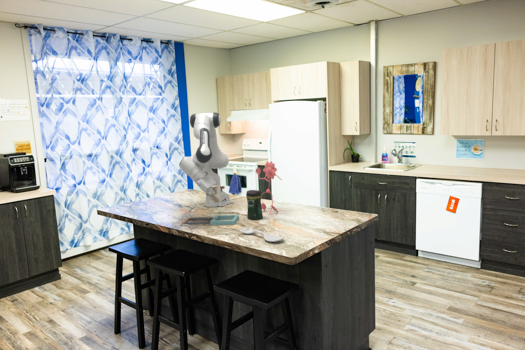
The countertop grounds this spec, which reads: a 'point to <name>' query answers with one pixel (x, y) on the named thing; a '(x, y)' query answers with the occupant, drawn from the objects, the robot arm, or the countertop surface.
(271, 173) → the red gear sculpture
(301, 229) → the countertop surface
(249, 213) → the coffee jar
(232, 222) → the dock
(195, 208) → the countertop surface
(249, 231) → the spoon
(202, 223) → the channel
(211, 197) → the cream block
